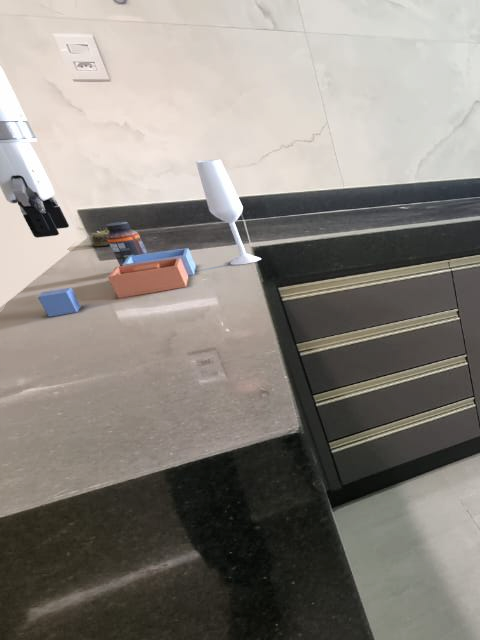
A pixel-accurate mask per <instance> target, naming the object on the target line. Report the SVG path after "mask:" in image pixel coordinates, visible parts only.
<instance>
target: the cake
mask: <svg viewBox="0 0 480 640" xmlns="http://www.w3.org/2000/svg"><path fill="white" fill-rule="evenodd" d="M108 233H109V230H108V229H107V227H106V226H105V229H104V230H101V231H98V232H95V233H93V234H91V239H92V241H93V247H104V246H110V244H109V242H108V240H107V238H106V236H107V235H108Z"/></svg>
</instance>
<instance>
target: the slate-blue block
mask: <svg viewBox="0 0 480 640" xmlns="http://www.w3.org/2000/svg"><path fill="white" fill-rule="evenodd" d="M37 299H38V301H39V302H40V304H41V307H42V308H43V310H44V312H45V313H46V315H47V316H48V317H49V318H51V317H57V316H63V315H68V314H74V313H78V312H79V310H80V309H81V308H82V305H81V304H80V302H79V300H78V298H77V295H76V294H75V293H74V290H73V288H72V287H67V288H66V287H65V288H59V289H54V290H53V289H52V290H47V291H42V293H40V294H39V295H38V296H37Z"/></svg>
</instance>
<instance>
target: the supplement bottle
mask: <svg viewBox="0 0 480 640" xmlns="http://www.w3.org/2000/svg"><path fill="white" fill-rule="evenodd" d="M106 227H107V229H108V230H109V233H108V235H107V236H106V238H107V240H108V242H109V244H110V245H109V246H110V248H111V250H112V252H113V254H114V257H115V258H116V260H117V262H118V265H119V266H123V263H124V262H125V261H126V259H127V258H128V256H134V255H142V254H149V252H148V250H147V248H146V247H145V244H144V243H143V240H142V238H141V236H140V234H139V232H138V231H136V230H134V229H131V225H130V224H129V222H127V221H118V222H110V223H108V224H106V225H105V228H106Z"/></svg>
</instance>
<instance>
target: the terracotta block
mask: <svg viewBox="0 0 480 640" xmlns="http://www.w3.org/2000/svg"><path fill="white" fill-rule="evenodd" d="M159 268H161V267H160V265H159V263H156V264H149V265H142V266H136V267H135V268H134V270H133V271H134V272H140V271H146V270H153V269H159Z"/></svg>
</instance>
